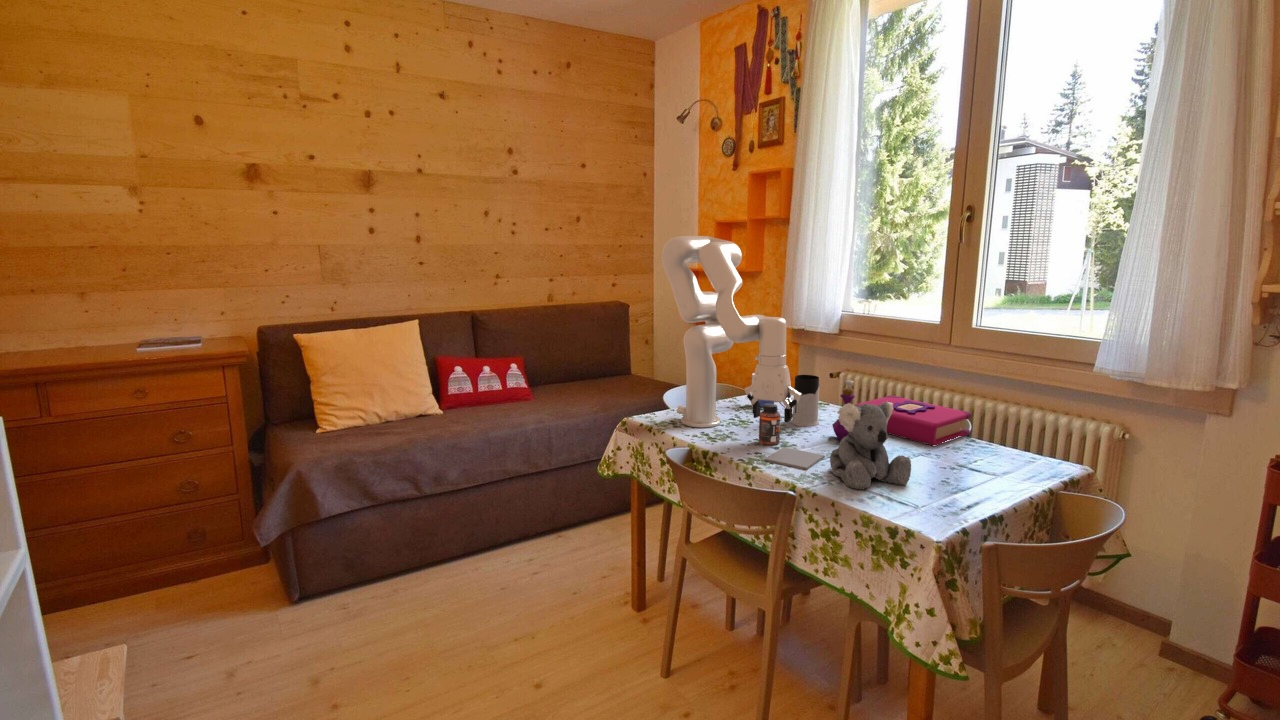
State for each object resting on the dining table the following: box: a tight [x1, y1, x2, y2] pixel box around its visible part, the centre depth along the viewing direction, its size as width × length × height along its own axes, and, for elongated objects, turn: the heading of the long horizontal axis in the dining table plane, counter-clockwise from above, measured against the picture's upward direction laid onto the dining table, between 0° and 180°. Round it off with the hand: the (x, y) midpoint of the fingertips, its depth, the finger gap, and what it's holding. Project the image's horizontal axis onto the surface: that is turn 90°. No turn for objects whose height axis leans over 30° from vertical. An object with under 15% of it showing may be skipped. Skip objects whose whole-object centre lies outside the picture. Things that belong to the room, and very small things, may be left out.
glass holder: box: [778, 374, 820, 428], centre depth 213 cm, size 9×14×15 cm, turn 89°
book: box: [854, 394, 972, 446], centre depth 206 cm, size 21×28×8 cm
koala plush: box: [829, 401, 912, 490], centre depth 166 cm, size 17×18×20 cm
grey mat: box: [764, 446, 826, 471], centre depth 180 cm, size 12×12×1 cm
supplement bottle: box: [758, 403, 781, 446], centre depth 193 cm, size 6×6×11 cm
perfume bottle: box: [831, 380, 856, 442], centre depth 195 cm, size 8×8×18 cm
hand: (772, 419), depth 192 cm, fingers open, 9 cm apart
